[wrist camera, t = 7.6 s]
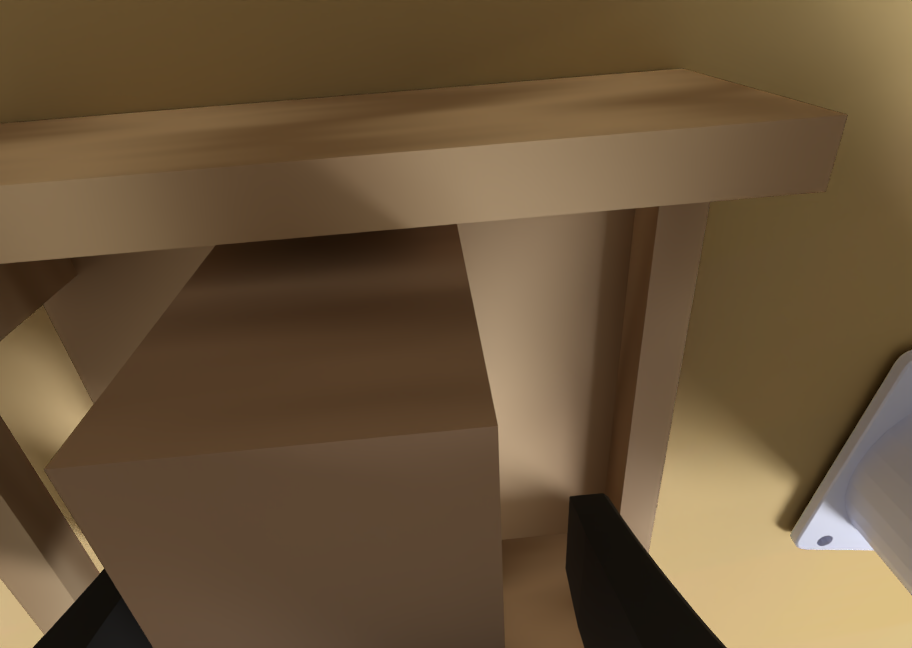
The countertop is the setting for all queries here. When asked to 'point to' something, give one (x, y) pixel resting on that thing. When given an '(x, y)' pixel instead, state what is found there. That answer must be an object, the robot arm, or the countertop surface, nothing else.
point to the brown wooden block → (302, 453)
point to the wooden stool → (408, 206)
